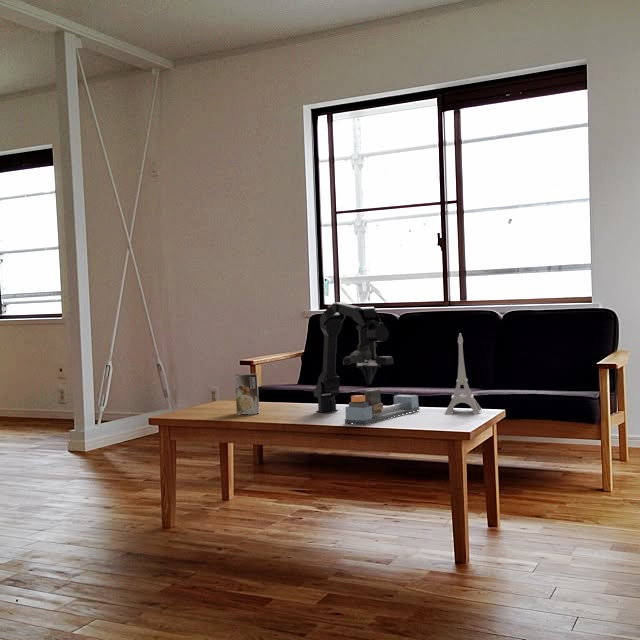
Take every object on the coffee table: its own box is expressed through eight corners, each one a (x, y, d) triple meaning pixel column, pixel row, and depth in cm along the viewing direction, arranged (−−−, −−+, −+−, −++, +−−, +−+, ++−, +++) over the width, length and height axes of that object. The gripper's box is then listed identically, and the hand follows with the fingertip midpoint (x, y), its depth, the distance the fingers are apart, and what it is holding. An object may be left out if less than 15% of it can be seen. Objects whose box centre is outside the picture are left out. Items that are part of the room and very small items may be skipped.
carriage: (362, 414, 288) (361, 390, 288) (372, 411, 292) (371, 389, 292) (374, 414, 285) (373, 391, 284) (383, 412, 289) (382, 389, 289)
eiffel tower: (446, 409, 307) (443, 333, 307) (481, 409, 304) (478, 331, 304) (444, 414, 294) (440, 334, 294) (480, 414, 291) (477, 333, 291)
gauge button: (351, 401, 281) (351, 396, 281) (357, 400, 284) (356, 395, 284) (359, 402, 279) (359, 396, 279) (365, 401, 282) (365, 395, 282)
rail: (344, 423, 282) (344, 402, 282) (399, 409, 311) (399, 390, 311) (365, 424, 277) (364, 403, 277) (419, 410, 306) (418, 391, 306)
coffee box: (259, 412, 322) (258, 372, 322) (259, 414, 316) (257, 374, 315) (237, 413, 322) (235, 373, 322) (236, 415, 315) (234, 375, 315)
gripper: (333, 343, 285) (335, 386, 286) (376, 342, 274) (378, 387, 274) (350, 341, 294) (352, 382, 295) (393, 340, 283) (395, 384, 283)
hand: (369, 384), depth 286 cm, fingers closed
